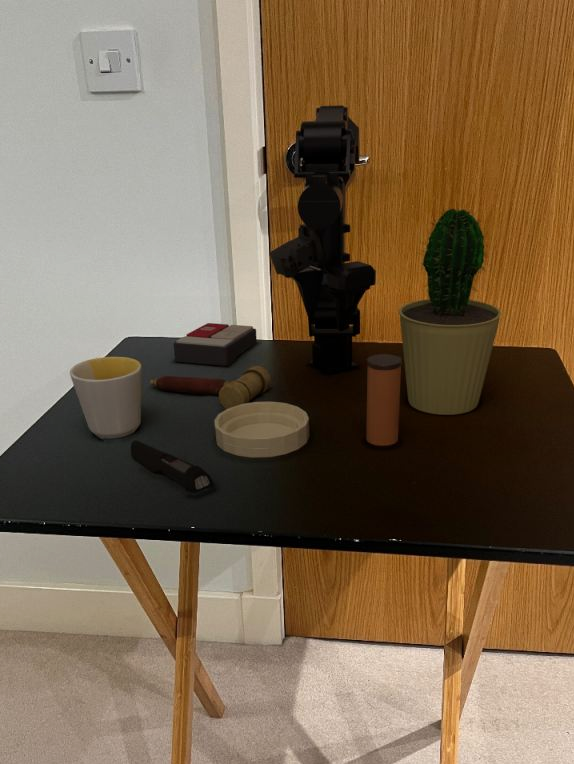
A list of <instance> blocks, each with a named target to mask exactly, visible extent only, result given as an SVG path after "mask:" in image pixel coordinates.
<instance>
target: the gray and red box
mask: <svg viewBox="0 0 574 764" xmlns="http://www.w3.org/2000/svg"><path fill="white" fill-rule="evenodd" d="M257 339H258V338H257V329H256V328H254V327H253V326H252V325H243V324H241V325H240V324H230V325H229V324H228V323H227V324H226V323H213V322H207V323H205V324H203V325H201V326H199V327H197V328H196V329H194V330H191V331H190V332H188V333H186V335H185V336H183V337H180V338H179V339H177V340H175V342H173V352H174V353H173V354H174V362H177V363H189V364H190V363H191V364H200V365H209V366H210V365H211V366H221V367H228V366H229V365H231V364H232V363H234V362H235V361H236V359H237V357H238V356H240V355H241V354H242V353H244V352H245V351H247V350H249V349H251V348H252V347H253V346H255V345H256V344H257Z"/></svg>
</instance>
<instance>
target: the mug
mask: <svg viewBox="0 0 574 764" xmlns="http://www.w3.org/2000/svg"><path fill="white" fill-rule="evenodd" d="M69 376H70V379H71V382H72V385H73V387H74V391H75V394H76V396H77V399H78V401H79V404H80V408H81V411H82V413H83V415H84V418H85V421H86V424H87V427H88V429H89V431H90V432H91V433H92V434H94V435H95V436H96V437H97V438H99V439H101V440H105V439H119V438H124V437H127V436H129V435H132V434H134V433H135V432H136V431H137V429H138V428H139V427H140V425H141V422H142V396H143V383H142V381H143V379H142V377H143V366H142V363H141V362H140V361H138V360H137V359H134V358H132V357H126V356H103V357H95V358H91V359H87V360H84V361H81V362H78V363H76V364H75V365H73V366H71V368H70V370H69Z"/></svg>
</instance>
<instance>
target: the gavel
mask: <svg viewBox="0 0 574 764" xmlns="http://www.w3.org/2000/svg"><path fill="white" fill-rule="evenodd" d="M271 382H272V381H271V375H270V373H269V372H268V371H267V369H265V368H264V367H263V366H260V365H253V366H251V367H249V368H248V369H246V370H245V371H244V372H243V373H242V375H241V376H240V377H239V378H237V379H235V380H224V379H220V378H208V377H192V376H191V377H189V376H174V375H165V376H162V377H161V376H160V377H158V378H155V379H151V380H150V381H149V385H151V386H155V387H156V388H158V389H160V390H162V391H164V392H177V393H191V394H206V395H218V400H219V402H220V405H221V406H222V408H224V409H225V410H226V409H228V408H231V407H234V406H238V405H241V404H246V403H250V401H252V400H253V399H254V398H255V397H257V396H258V395H259V394H264V393H265V392H266V391H267V390H268V389H269V388H270V386H271V384H272V383H271Z"/></svg>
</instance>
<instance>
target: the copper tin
mask: <svg viewBox="0 0 574 764" xmlns="http://www.w3.org/2000/svg"><path fill="white" fill-rule="evenodd" d="M402 365H403V360H402V357H400V356H398V355H395V354H388V353H382V354H381V353H380V354H379V353H378V354H374V355H371V356H369V357H367V359H366V366H367V367H366V368H367V369H366V371H367V372H366V373H367V374H366V378H367V379H366V432H365V433H366V435H365V436H366V437H365V438H366V441H367V443H369V444H372V445H374V446H391V445H393V444H396V443H397V442H398V441H399V428H400V427H399V426H400V425H399V424H400V404H401V403H400V399H401V375H402Z"/></svg>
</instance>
